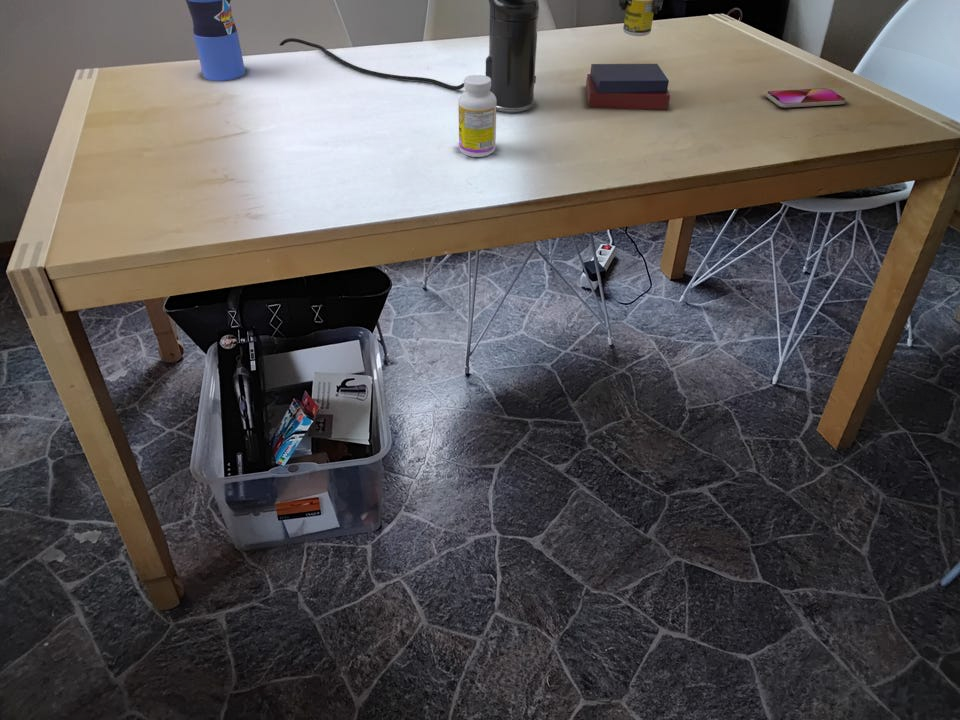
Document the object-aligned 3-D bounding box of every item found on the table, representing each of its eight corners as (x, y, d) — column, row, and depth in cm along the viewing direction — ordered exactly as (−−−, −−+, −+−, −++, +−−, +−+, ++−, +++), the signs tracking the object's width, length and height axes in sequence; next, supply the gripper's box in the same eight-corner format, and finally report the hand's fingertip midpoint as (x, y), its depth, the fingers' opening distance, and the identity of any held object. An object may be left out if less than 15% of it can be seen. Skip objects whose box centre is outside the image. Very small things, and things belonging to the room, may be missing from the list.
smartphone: (848, 100, 150) (782, 104, 147) (846, 105, 151) (781, 109, 148) (828, 87, 155) (764, 91, 153) (826, 92, 156) (763, 95, 153)
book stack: (588, 107, 148) (591, 80, 144) (585, 87, 156) (588, 61, 153) (667, 110, 147) (672, 83, 144) (660, 89, 156) (664, 63, 152)
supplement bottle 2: (617, 31, 143) (624, -24, 137) (636, 26, 146) (644, -28, 139) (636, 38, 140) (644, -17, 134) (656, 33, 143) (665, -22, 136)
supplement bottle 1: (465, 140, 135) (465, 70, 127) (499, 145, 134) (502, 74, 125) (453, 155, 130) (452, 83, 122) (488, 160, 129) (490, 88, 120)
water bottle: (194, 78, 158) (162, -51, 142) (215, 64, 165) (188, -61, 149) (233, 82, 156) (205, -48, 140) (253, 68, 163) (229, -58, 147)
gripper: (620, -90, 137) (600, -6, 137) (697, -85, 134) (678, 2, 133) (621, -64, 145) (602, 16, 144) (694, -58, 141) (675, 24, 141)
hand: (639, 9), depth 139 cm, fingers closed on supplement bottle 2, 5 cm apart
